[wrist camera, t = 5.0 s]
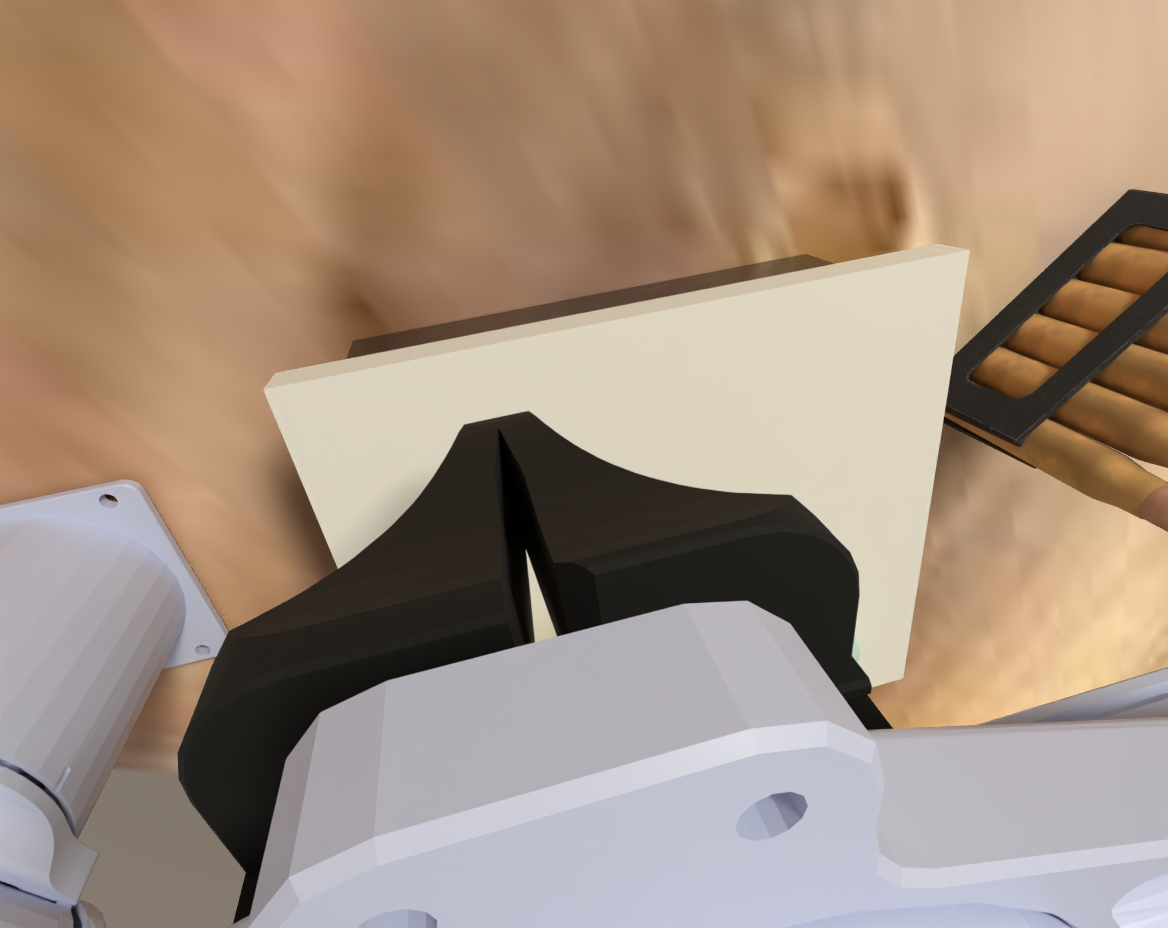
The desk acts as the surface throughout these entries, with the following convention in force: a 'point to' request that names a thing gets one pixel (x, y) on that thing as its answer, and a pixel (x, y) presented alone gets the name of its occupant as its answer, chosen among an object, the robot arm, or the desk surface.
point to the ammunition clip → (1082, 364)
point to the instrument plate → (678, 411)
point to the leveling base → (581, 305)
